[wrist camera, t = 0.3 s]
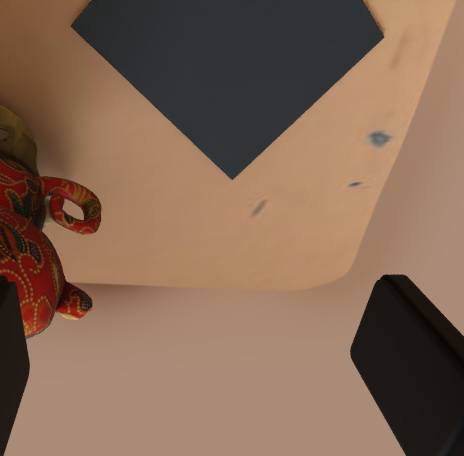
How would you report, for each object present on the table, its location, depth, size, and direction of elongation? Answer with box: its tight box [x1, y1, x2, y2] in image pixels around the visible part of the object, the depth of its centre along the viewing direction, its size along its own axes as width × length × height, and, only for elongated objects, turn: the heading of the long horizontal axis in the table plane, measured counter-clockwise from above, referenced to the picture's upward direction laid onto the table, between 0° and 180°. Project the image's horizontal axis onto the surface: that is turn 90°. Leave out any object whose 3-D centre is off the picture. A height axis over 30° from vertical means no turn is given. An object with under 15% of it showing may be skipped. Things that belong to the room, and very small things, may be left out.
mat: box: [71, 0, 384, 180], centre depth 35 cm, size 20×20×1 cm
